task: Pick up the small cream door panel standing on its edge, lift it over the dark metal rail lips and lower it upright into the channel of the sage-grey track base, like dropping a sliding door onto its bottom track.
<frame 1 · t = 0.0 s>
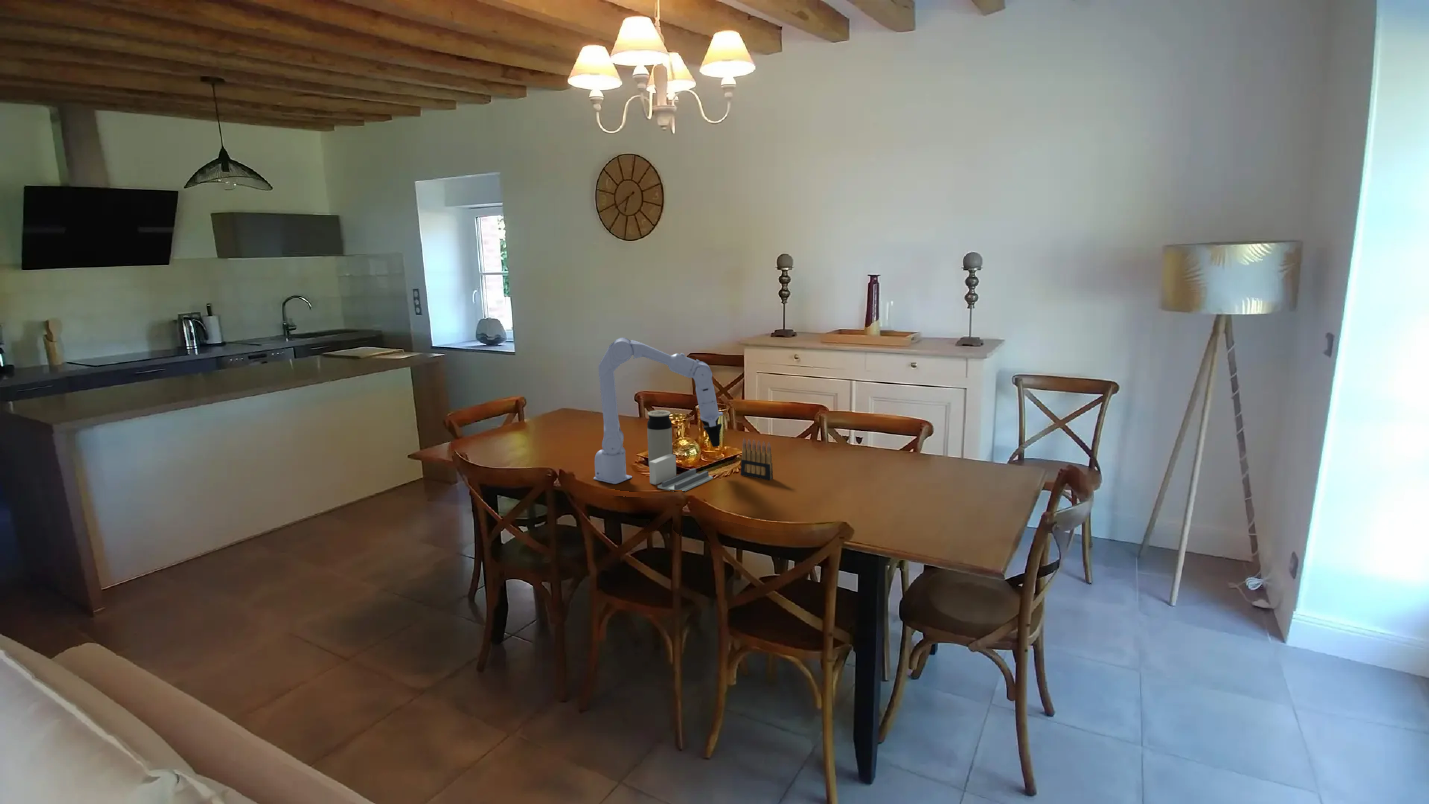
hand: (715, 442, 228), 11 cm above the table, tool pointing down, fingers open, 7 cm apart
ammunition clip: (756, 477, 228), on the table
travel mug: (660, 466, 241), on the table
door panel: (663, 479, 227), on the table
track: (685, 483, 223), on the table
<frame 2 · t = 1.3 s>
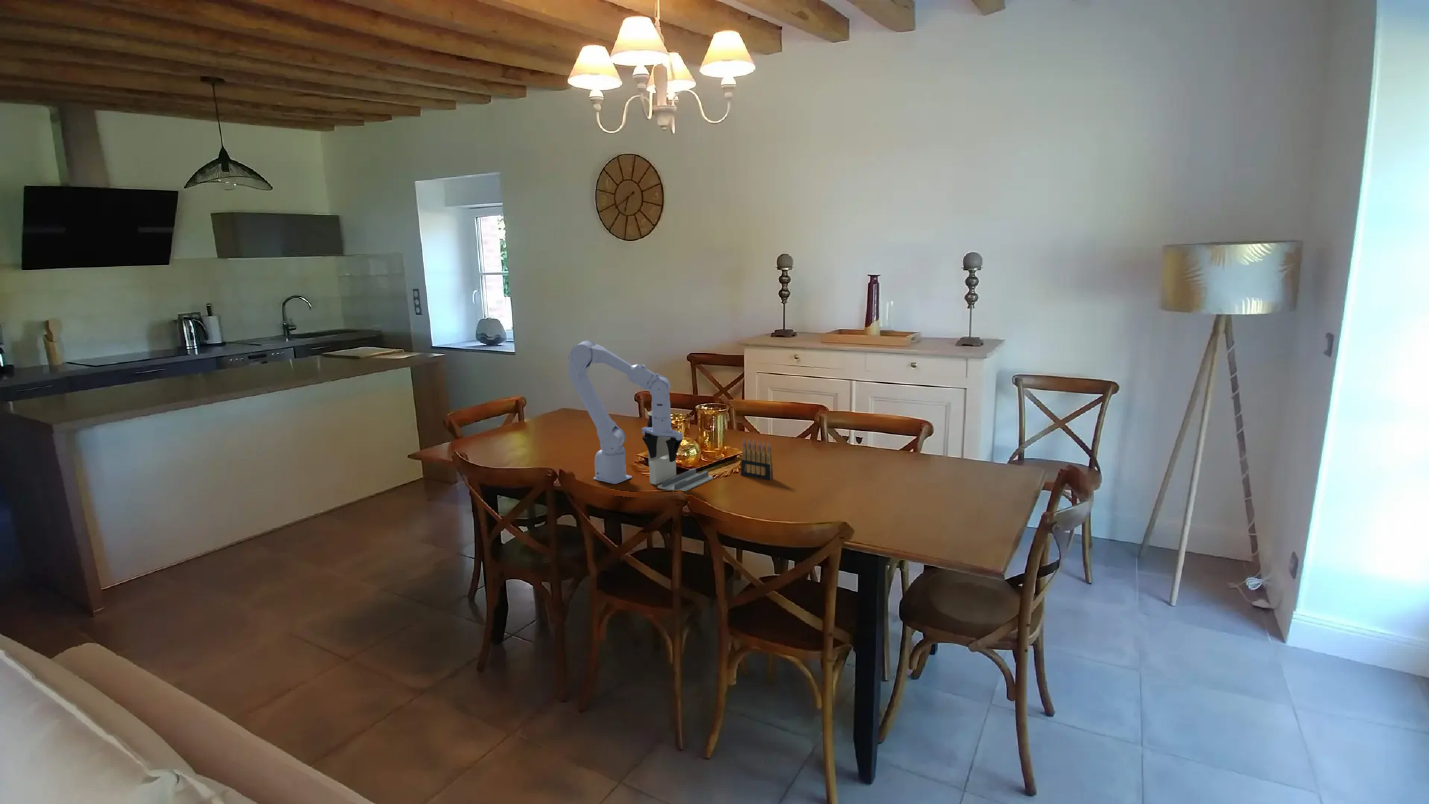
hand: (662, 459, 225), 7 cm above the table, tool pointing down, fingers open, 7 cm apart
nothing on the table moved.
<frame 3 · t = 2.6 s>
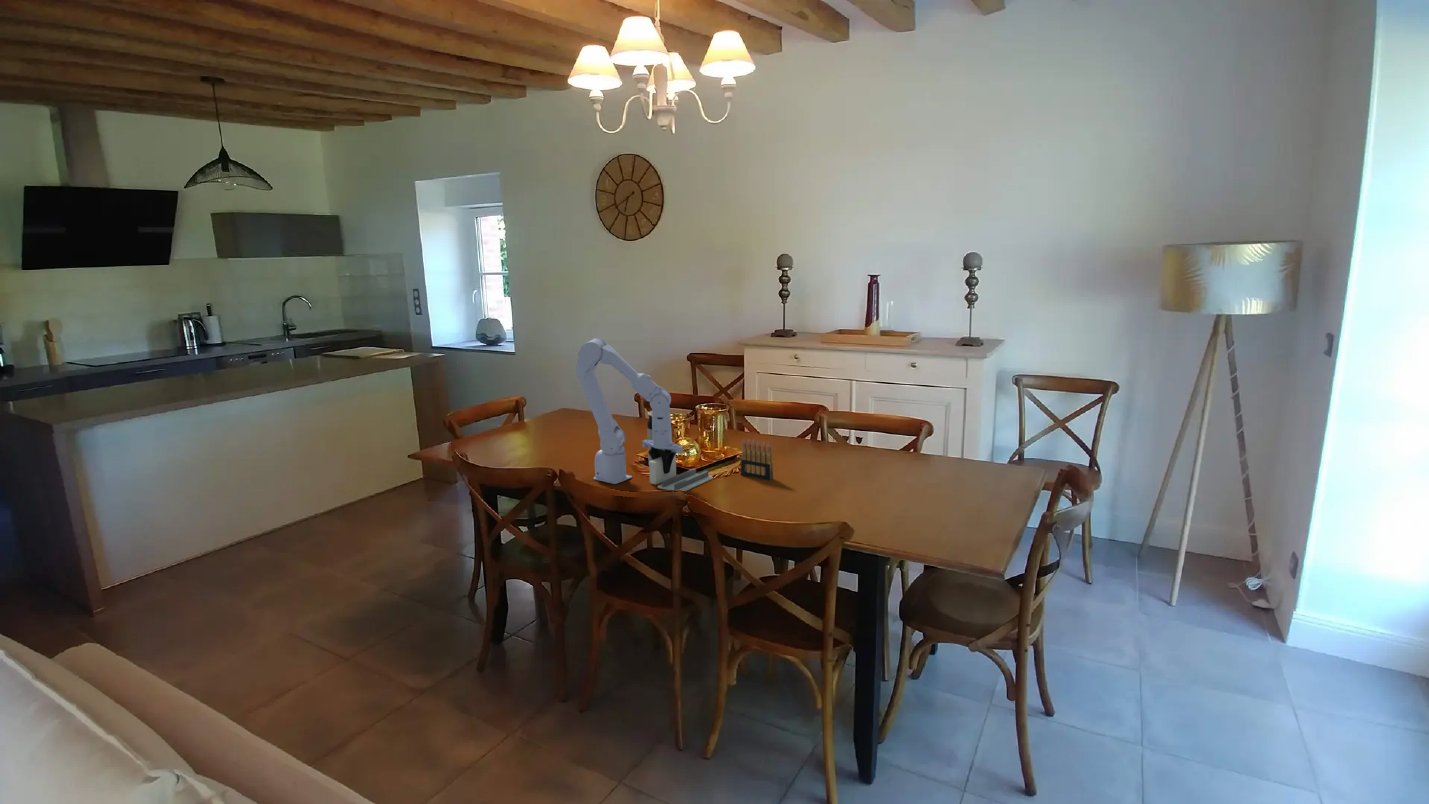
hand: (663, 472, 226), 2 cm above the table, tool pointing down, fingers closed on door panel, 2 cm apart
door panel: (663, 479, 227), on the table, touching gripper
everything else where it was.
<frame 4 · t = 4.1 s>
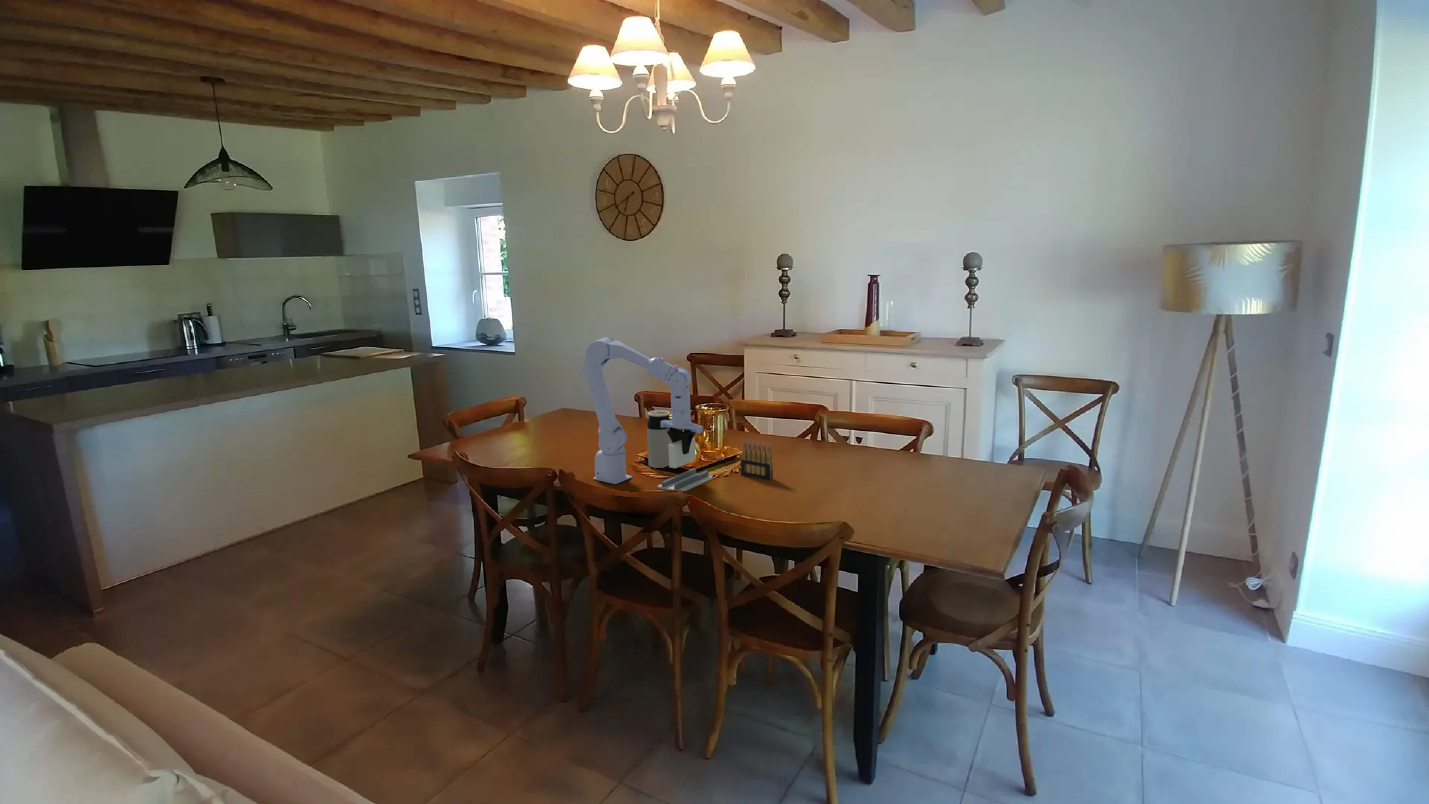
hand: (682, 452, 221), 9 cm above the table, tool pointing down, fingers closed on door panel, 2 cm apart
door panel: (682, 463, 222), point 6 cm above the table, touching gripper
everything else where it was.
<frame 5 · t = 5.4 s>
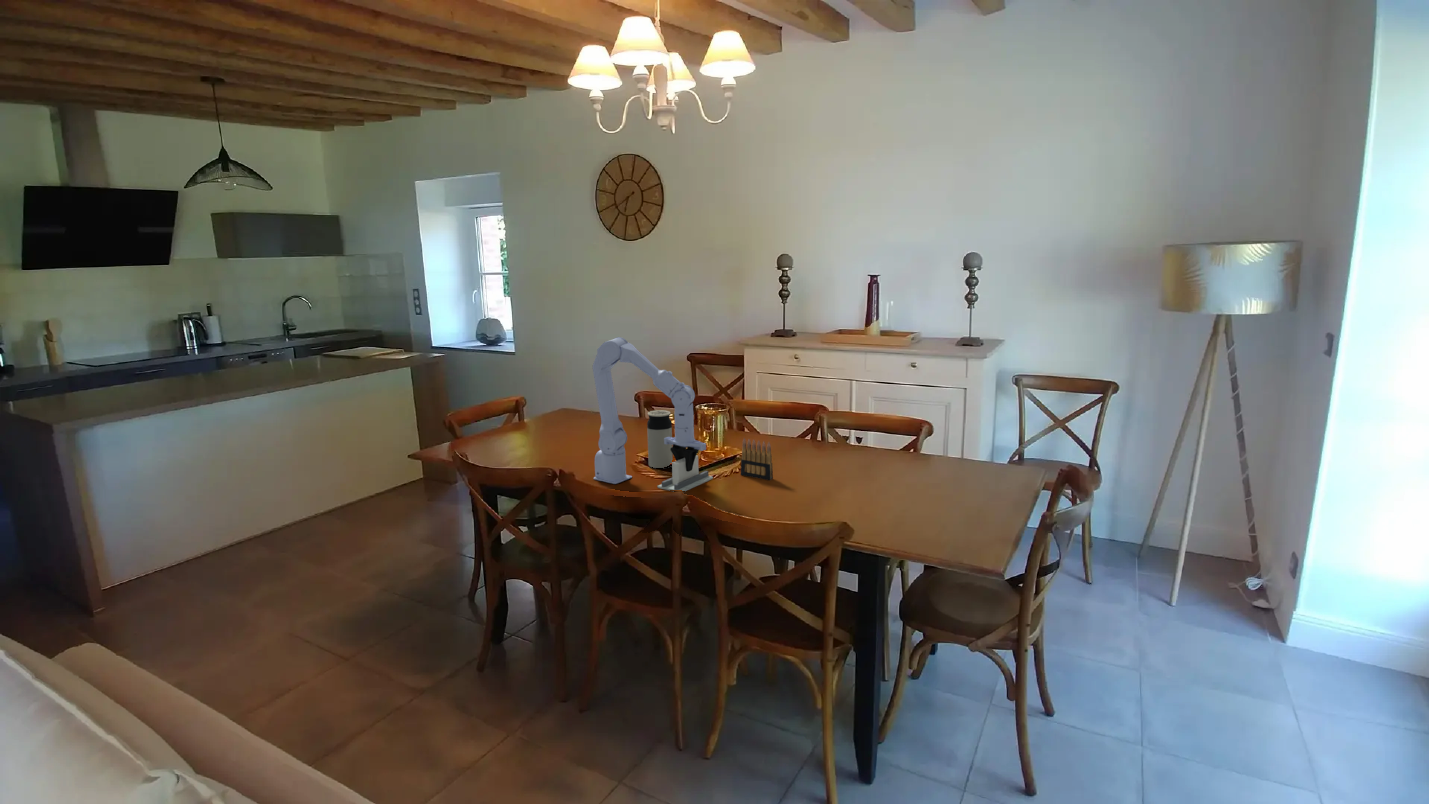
hand: (685, 469, 222), 4 cm above the table, tool pointing down, fingers closed on door panel, 2 cm apart
door panel: (685, 481, 223), point 1 cm above the table, touching gripper, track
everything else where it was.
when the fingers open (4 cm above the table, at t = 5.9 s): door panel stays where it is, resting on track.
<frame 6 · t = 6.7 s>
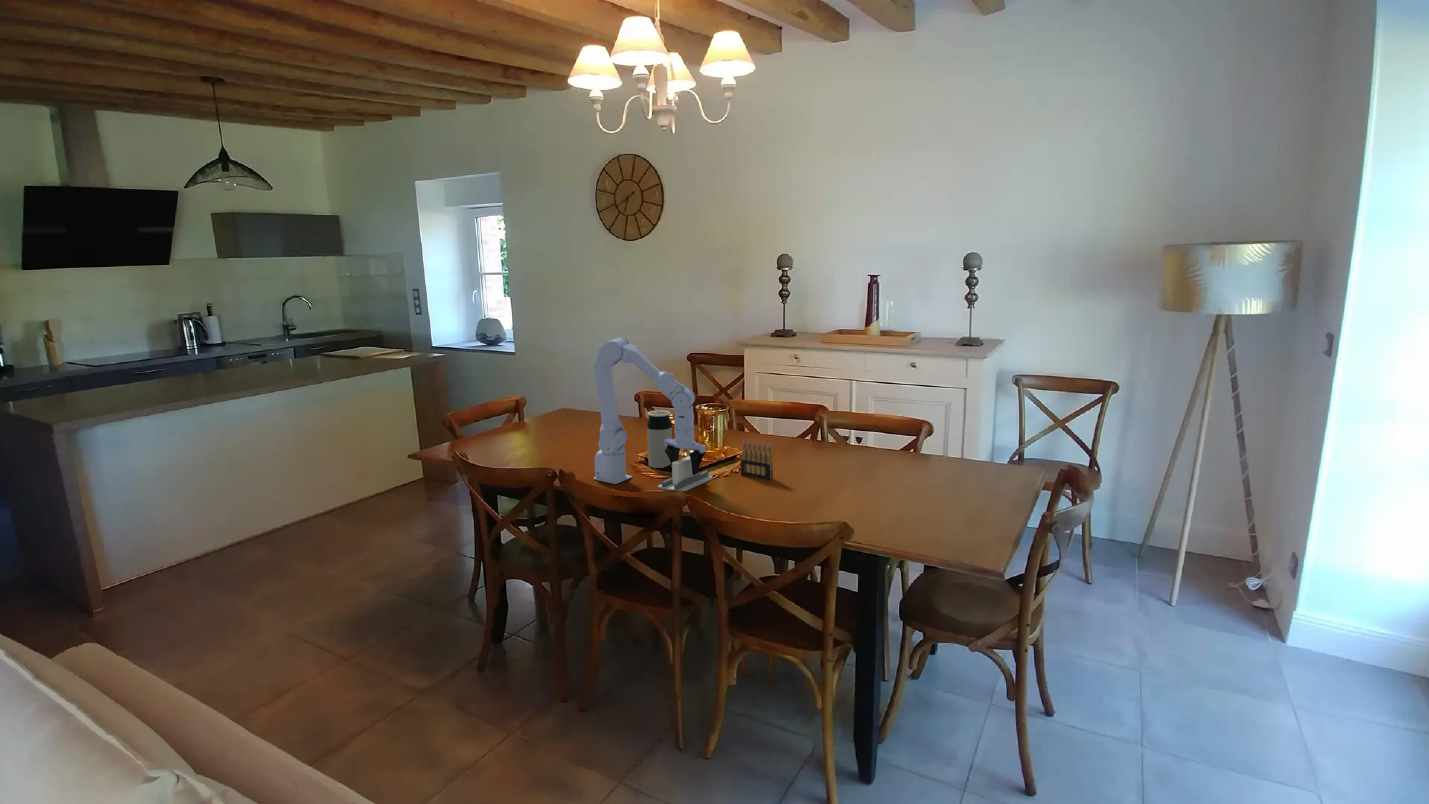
hand: (685, 471, 222), 4 cm above the table, tool pointing down, fingers open, 7 cm apart
door panel: (685, 481, 223), point 1 cm above the table, touching track
everything else where it was.
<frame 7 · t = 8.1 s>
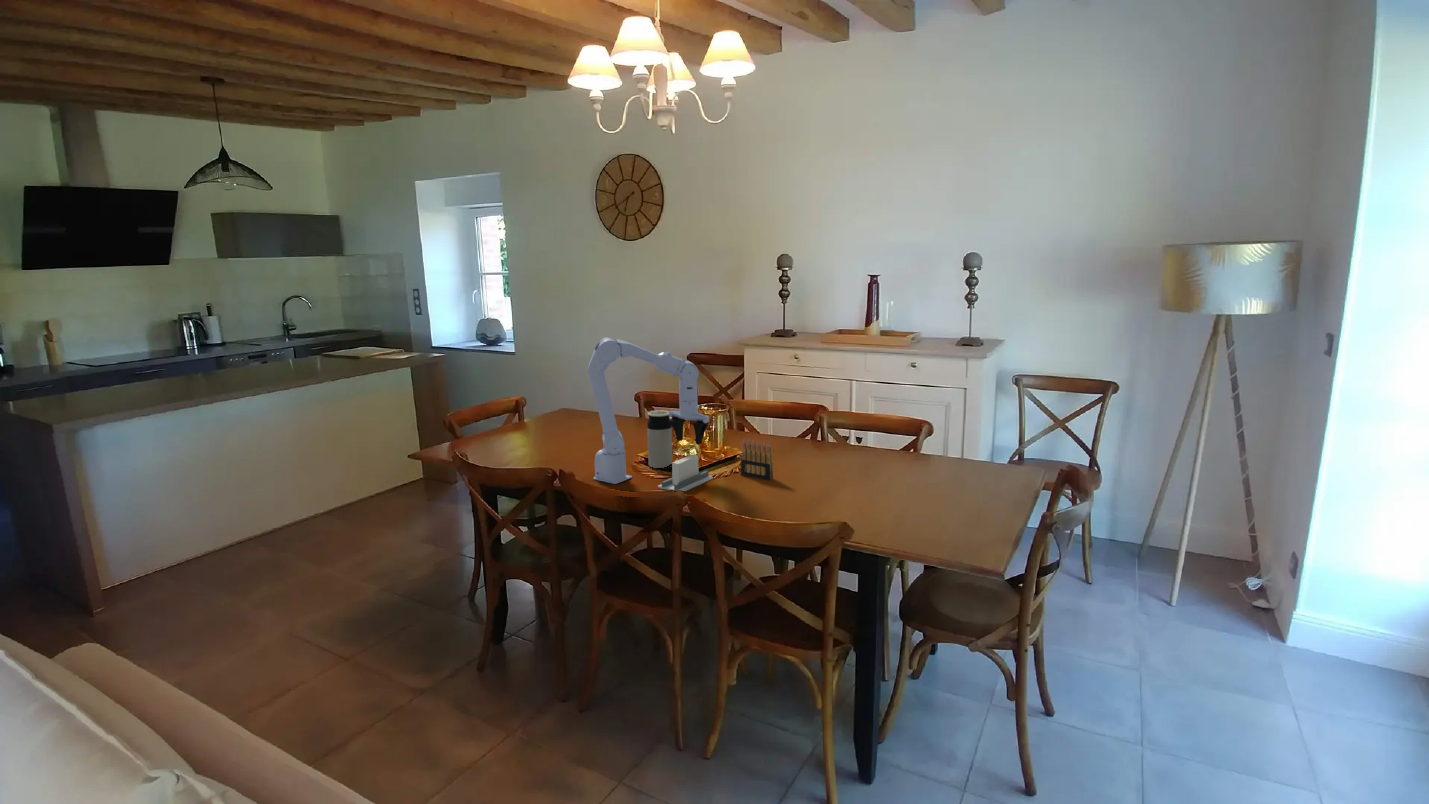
hand: (689, 442, 230), 10 cm above the table, tool pointing down, fingers open, 7 cm apart
nothing on the table moved.
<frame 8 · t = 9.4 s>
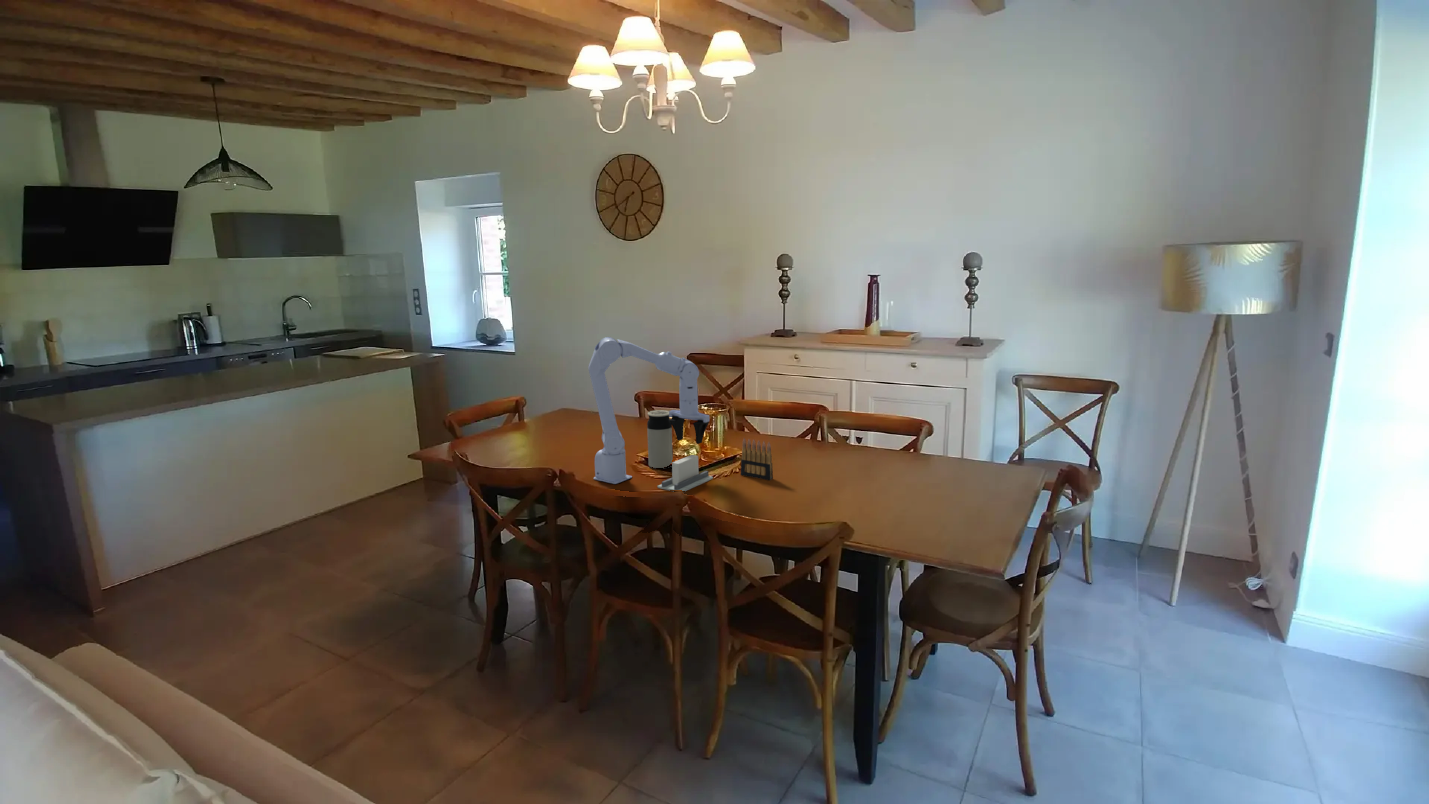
hand: (689, 441, 231), 10 cm above the table, tool pointing down, fingers open, 7 cm apart
nothing on the table moved.
at the end: door panel inside the target area on the track (0.1 cm from its centre), point 0.6 cm above the track's base; door panel tilted 0°; the gripper is holding nothing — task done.
